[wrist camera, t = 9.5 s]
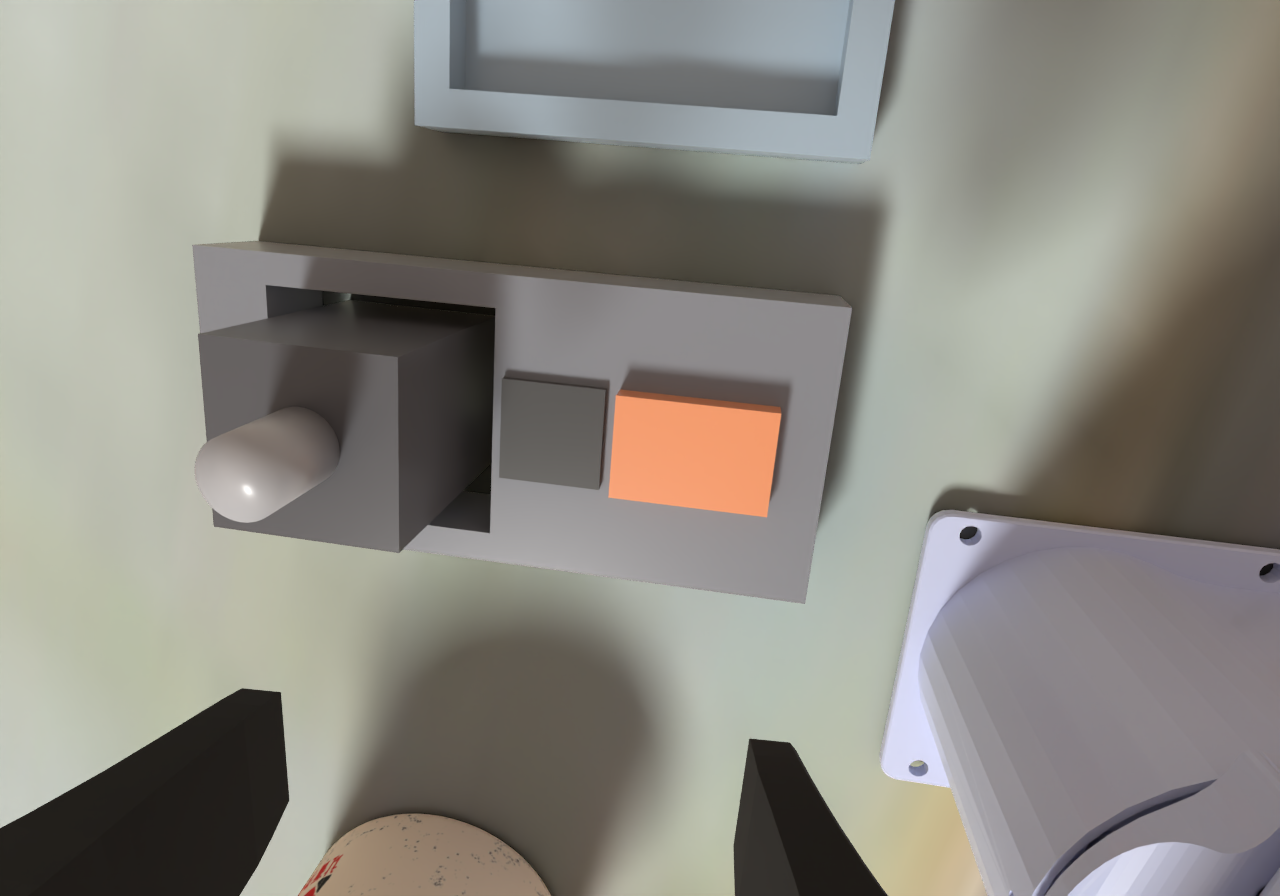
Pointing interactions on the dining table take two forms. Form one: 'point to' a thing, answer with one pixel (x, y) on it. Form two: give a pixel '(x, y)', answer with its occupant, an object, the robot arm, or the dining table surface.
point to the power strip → (608, 410)
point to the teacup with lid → (422, 861)
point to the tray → (657, 73)
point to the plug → (345, 420)
